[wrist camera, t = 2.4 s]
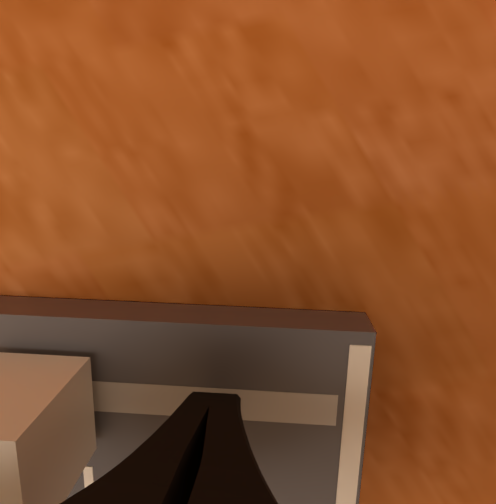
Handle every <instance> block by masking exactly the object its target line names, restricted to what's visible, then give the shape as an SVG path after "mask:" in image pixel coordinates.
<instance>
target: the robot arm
mask: <svg viewBox="0 0 496 504" xmlns="http://www.w3.org/2000/svg"><path fill="white" fill-rule="evenodd" d="M60 504H278V502H277V501H276V499H275V497H274V495H273V494H272V492H271V490H270V488H269V486H268V485H267V483H266V481H265V479H264V477H263V475H262V473H261V471H260V468H259V466H258V464H257V461H256V459H255V457H254V454H253V452H252V449H251V447H250V444H249V441H248V437H247V434H246V431H245V428H244V424H243V420H242V415H241V398H240V397H239V396H238V395H237V394H228V393H211V392H192V393H191V394H190V395H189V396H188V397H187V398H186V399H185V400H184V401H183V402H182V403H181V405H180V406H179V407H178V408H177V409H176V410H175V411H174V412H173V413H172V415H171V416H170V417H169V418H168V419H167V420H166V421H165V422H164V423H163V424H162V425H161V426H160V427H159V428H158V429H157V430H156V431H155V432H154V433H153V434H152V435H151V436H150V437H149V438H148V439H147V440H146V441H145V442H143V443H142V444H141V445H140V446H139V447H138V448H137V449H136V450H135V451H133V452H132V453H131V454H130V455H129V456H128V457H127V458H125V459H124V460H123V461H122V462H120V463H119V464H118V465H117V466H115V467H114V468H113V469H111V470H110V471H109V472H107V473H106V474H105V475H103V476H102V477H101V478H99V479H98V480H96V481H95V482H93V483H92V484H90V485H88V486H87V487H85V488H84V489H82V490H81V491H79V492H77V493H76V494H74V495H73V496H71V497H69V498H68V499H66V500H65V501H63V502H61V503H60Z"/></svg>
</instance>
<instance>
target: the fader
mask: <svg viewBox="0 0 496 504" xmlns="http://www.w3.org/2000/svg"><path fill="white" fill-rule="evenodd" d="M96 448H97V447H96V433H95V418H94V404H93V389H92V374H91V360H90V357H78V356H60V355H41V354H23V353H4V352H0V504H60V503H61V502H63V501H65V500H66V499H67V497H68V495H69V494H70V492H71V490H72V488H73V487H74V485H75V483H76V482H77V480H78V478H79V477H80V475H81V473H82V472H83V470H84V468H85V467H86V465H87V463H88V462H89V460H90V458H91V457H92V455H93V453H94V452H95V450H96Z"/></svg>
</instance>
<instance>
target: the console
mask: <svg viewBox="0 0 496 504" xmlns="http://www.w3.org/2000/svg"><path fill="white" fill-rule="evenodd" d="M375 341H376V331H375V329H374V327H373V326H372V324H371V322H370V320H369V318H368V316H367V315H366V313H365V312H344V311H323V310H301V309H280V308H258V307H237V306H215V305H194V304H172V303H151V302H129V301H108V300H86V299H64V298H43V297H21V296H0V352H4V353H23V354H41V355H60V356H78V357H90V360H91V374H92V389H93V404H94V418H95V433H96V447H97V448H96V450H95V452H94V453H93V455H92V457H91V458H90V460H89V462H88V463H87V465H86V467H85V468H84V470H83V472H82V473H81V475H80V477H79V478H78V480H77V482H76V483H75V485H74V487H73V488H72V490H71V492H70V494H69V495H68V497H67V499H68V498H69V497H71V496H73V495H74V494H76V493H77V492H79V491H81V490H82V489H84V488H85V487H87V486H88V485H90V484H92V483H93V482H95V481H96V480H98V479H99V478H101V477H102V476H103V475H105V474H106V473H107V472H109V471H110V470H111V469H113V468H114V467H115V466H117V465H118V464H119V463H120V462H122V461H123V460H124V459H125V458H127V457H128V456H129V455H130V454H131V453H132V452H133V451H135V450H136V449H137V448H138V447H139V446H140V445H141V444H142V443H143V442H145V441H146V440H147V439H148V438H149V437H150V436H151V435H152V434H153V433H154V432H155V431H156V430H157V429H158V428H159V427H160V426H161V425H162V424H163V423H164V422H165V421H166V420H167V419H168V418H169V417H170V416H171V415H172V413H173V412H174V411H175V410H176V409H177V408H178V407H179V406H180V405H181V403H182V402H183V401H184V400H185V399H186V398H187V397H188V396H189V395H190V394H191V393H192V392H211V393H228V394H237V395H238V396H239V397H240V398H241V415H242V420H243V424H244V428H245V431H246V434H247V437H248V441H249V444H250V447H251V449H252V452H253V454H254V457H255V459H256V461H257V464H258V466H259V468H260V471H261V473H262V475H263V477H264V479H265V481H266V483H267V485H268V486H269V488H270V490H271V492H272V494H273V495H274V497H275V499H276V501H277V502H278V504H359V496H360V486H361V476H362V467H363V457H364V447H365V438H366V428H367V418H368V409H369V399H370V389H371V380H372V370H373V360H374V351H375Z"/></svg>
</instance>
